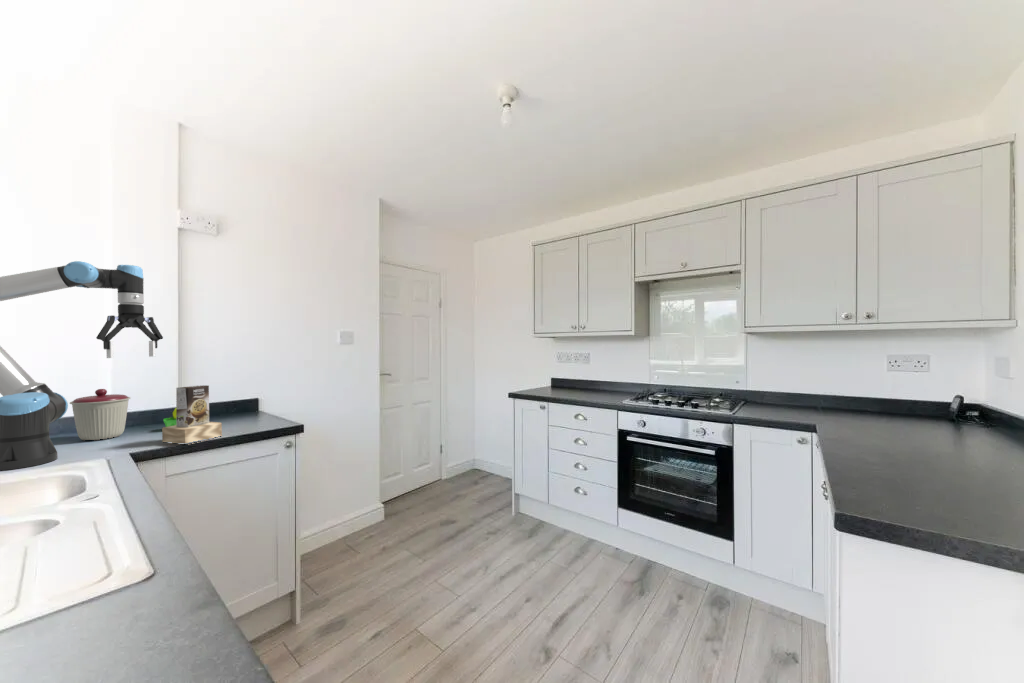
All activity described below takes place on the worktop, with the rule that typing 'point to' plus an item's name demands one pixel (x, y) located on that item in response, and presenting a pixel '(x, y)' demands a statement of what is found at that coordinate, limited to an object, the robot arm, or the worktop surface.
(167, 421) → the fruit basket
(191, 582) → the worktop surface
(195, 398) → the coffee box
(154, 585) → the worktop surface
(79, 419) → the canister
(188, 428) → the oak block
